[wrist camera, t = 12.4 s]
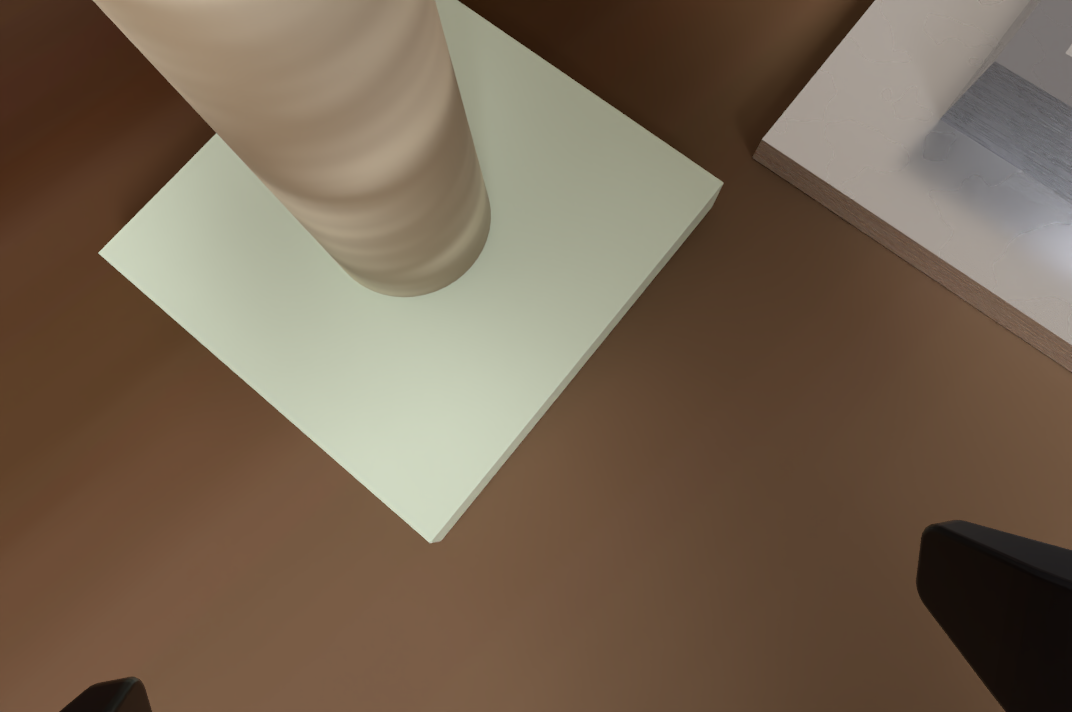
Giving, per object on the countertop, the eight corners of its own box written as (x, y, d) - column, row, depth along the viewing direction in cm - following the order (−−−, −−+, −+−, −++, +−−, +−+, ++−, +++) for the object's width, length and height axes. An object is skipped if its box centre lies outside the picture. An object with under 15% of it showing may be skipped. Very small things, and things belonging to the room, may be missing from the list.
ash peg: (494, 144, 19) (361, -468, 7) (486, 298, 18) (318, -122, 6) (336, 144, 19) (-40, -445, 7) (320, 296, 18) (-144, -110, 6)
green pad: (711, 207, 20) (723, 182, 18) (441, 540, 18) (430, 543, 16) (403, -8, 22) (391, -45, 20) (131, 272, 20) (98, 253, 19)
